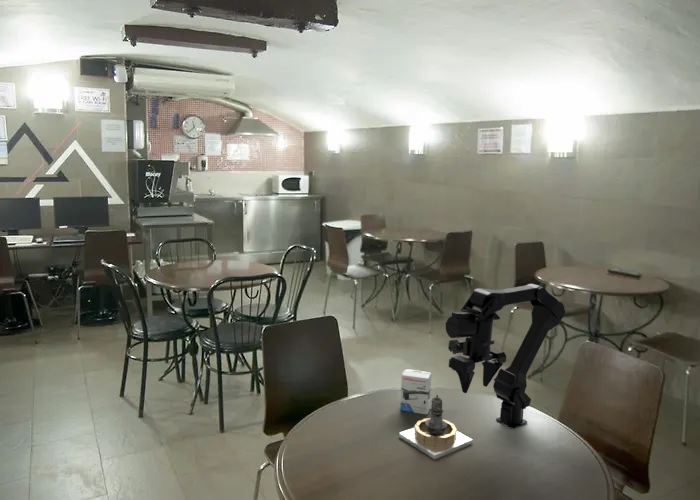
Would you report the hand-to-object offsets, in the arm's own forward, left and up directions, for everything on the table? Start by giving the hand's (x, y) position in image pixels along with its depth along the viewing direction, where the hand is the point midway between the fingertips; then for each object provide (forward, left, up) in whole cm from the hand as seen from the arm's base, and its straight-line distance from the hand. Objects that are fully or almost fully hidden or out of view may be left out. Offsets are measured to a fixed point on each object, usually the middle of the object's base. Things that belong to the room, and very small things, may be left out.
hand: (474, 389), depth 153 cm
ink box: (+4, -20, -13) cm, 24 cm away
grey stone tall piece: (+12, -3, -12) cm, 17 cm away
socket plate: (+12, -3, -13) cm, 18 cm away
